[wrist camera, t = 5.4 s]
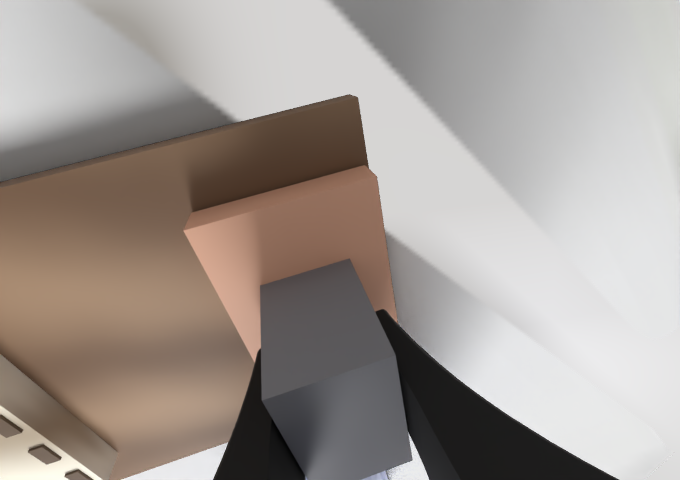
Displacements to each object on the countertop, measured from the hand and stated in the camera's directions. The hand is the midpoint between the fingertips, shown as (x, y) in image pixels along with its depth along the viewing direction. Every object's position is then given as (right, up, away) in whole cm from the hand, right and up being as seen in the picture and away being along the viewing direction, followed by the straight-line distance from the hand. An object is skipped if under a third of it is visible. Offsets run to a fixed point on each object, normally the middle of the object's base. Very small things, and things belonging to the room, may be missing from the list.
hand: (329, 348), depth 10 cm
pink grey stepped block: (-1, +1, +2) cm, 2 cm away
